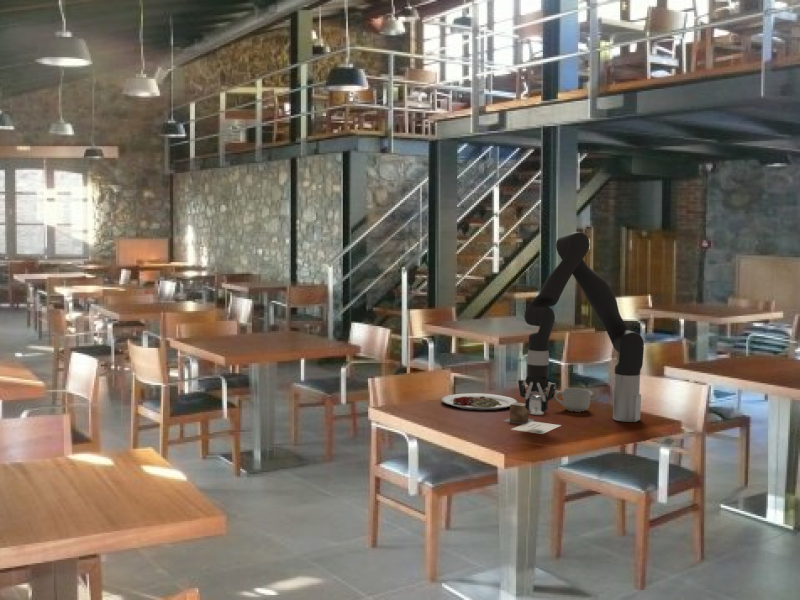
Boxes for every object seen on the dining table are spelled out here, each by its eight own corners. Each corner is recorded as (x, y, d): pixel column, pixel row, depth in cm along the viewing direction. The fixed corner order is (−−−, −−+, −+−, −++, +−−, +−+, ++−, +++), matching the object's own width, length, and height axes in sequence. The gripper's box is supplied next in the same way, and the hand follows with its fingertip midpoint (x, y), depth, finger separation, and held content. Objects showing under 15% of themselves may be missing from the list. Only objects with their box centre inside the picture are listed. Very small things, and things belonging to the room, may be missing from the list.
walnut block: (528, 420, 333) (528, 403, 332) (522, 422, 329) (522, 406, 328) (515, 418, 336) (516, 402, 335) (509, 420, 331) (510, 404, 331)
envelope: (561, 426, 325) (561, 425, 325) (542, 435, 311) (542, 433, 311) (530, 422, 331) (530, 421, 331) (510, 430, 317) (510, 429, 317)
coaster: (535, 420, 334) (535, 419, 334) (524, 425, 326) (525, 424, 326) (512, 417, 338) (512, 416, 338) (502, 422, 331) (502, 420, 331)
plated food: (532, 408, 359) (532, 400, 358) (469, 414, 344) (469, 406, 344) (488, 395, 385) (488, 387, 384) (427, 401, 370) (427, 393, 370)
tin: (546, 412, 322) (547, 396, 321) (540, 415, 317) (540, 398, 317) (532, 411, 324) (532, 394, 324) (525, 413, 320) (526, 396, 319)
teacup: (588, 408, 360) (589, 388, 359) (591, 413, 349) (592, 393, 348) (553, 407, 361) (553, 387, 360) (555, 412, 350) (555, 391, 350)
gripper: (561, 363, 319) (559, 411, 320) (523, 359, 326) (522, 406, 328) (552, 366, 312) (551, 414, 314) (514, 362, 320) (513, 409, 321)
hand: (536, 410), depth 321 cm, fingers closed on tin, 5 cm apart
